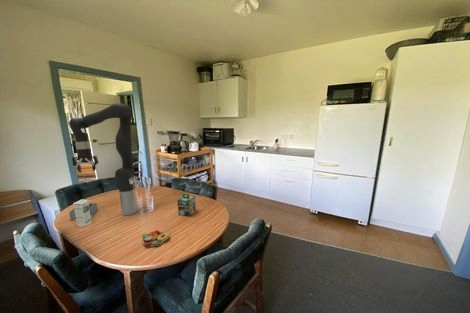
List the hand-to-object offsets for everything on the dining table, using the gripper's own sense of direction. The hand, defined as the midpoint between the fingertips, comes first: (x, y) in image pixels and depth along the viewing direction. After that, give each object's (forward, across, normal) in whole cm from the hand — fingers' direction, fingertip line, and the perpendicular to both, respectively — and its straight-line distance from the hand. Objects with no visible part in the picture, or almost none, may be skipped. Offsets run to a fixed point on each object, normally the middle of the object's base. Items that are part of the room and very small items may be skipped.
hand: (87, 170), depth 134 cm
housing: (+30, +3, +6) cm, 31 cm away
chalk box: (+30, -66, +22) cm, 76 cm away
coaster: (+30, -2, +18) cm, 35 cm away
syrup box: (+30, -2, +18) cm, 35 cm away
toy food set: (+31, -48, +49) cm, 75 cm away
